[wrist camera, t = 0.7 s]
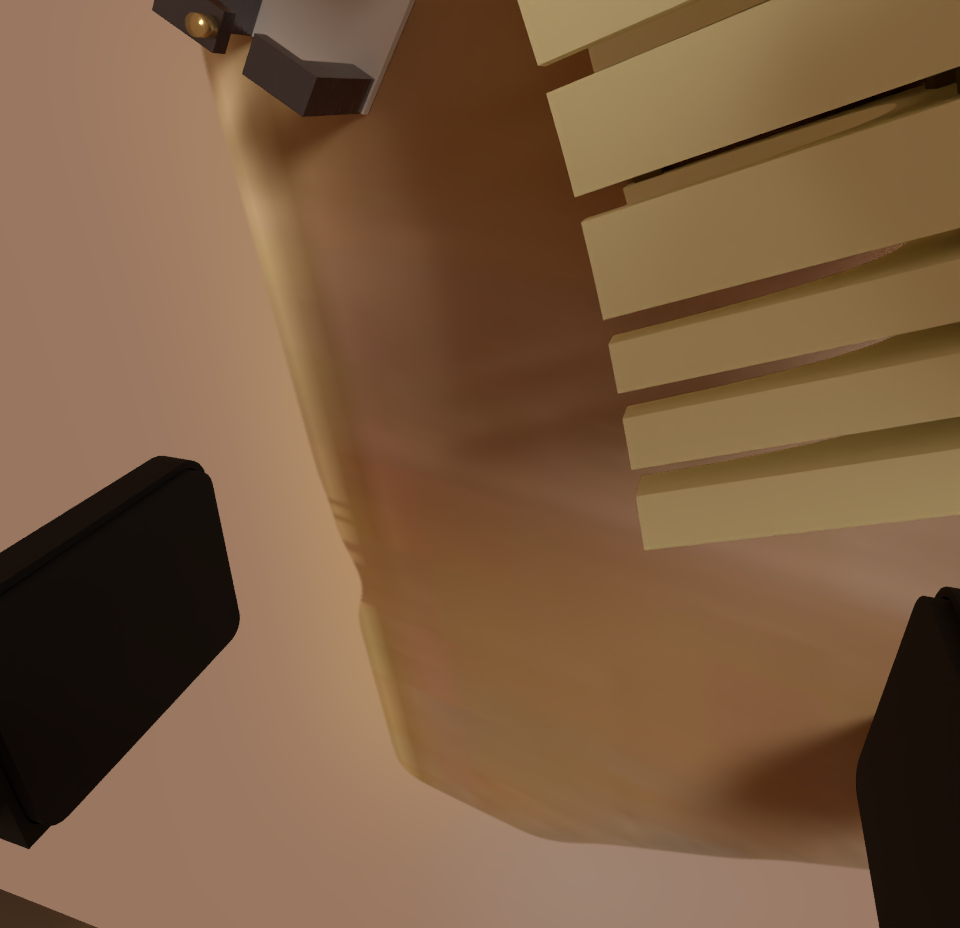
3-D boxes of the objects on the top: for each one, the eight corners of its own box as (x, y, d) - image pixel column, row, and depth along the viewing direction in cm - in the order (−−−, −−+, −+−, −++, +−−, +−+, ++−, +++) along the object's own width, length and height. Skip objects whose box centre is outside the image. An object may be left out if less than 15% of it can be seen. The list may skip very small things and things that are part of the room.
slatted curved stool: (994, 323, 36) (1175, 490, 21) (678, 389, 42) (644, 550, 28) (935, -463, 25) (1212, -1255, 10) (529, -213, 32) (345, -477, 17)
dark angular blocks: (240, -16, 39) (143, -37, 33) (374, 79, 39) (304, 77, 33) (230, 20, 40) (134, 7, 34) (360, 113, 40) (289, 117, 34)
